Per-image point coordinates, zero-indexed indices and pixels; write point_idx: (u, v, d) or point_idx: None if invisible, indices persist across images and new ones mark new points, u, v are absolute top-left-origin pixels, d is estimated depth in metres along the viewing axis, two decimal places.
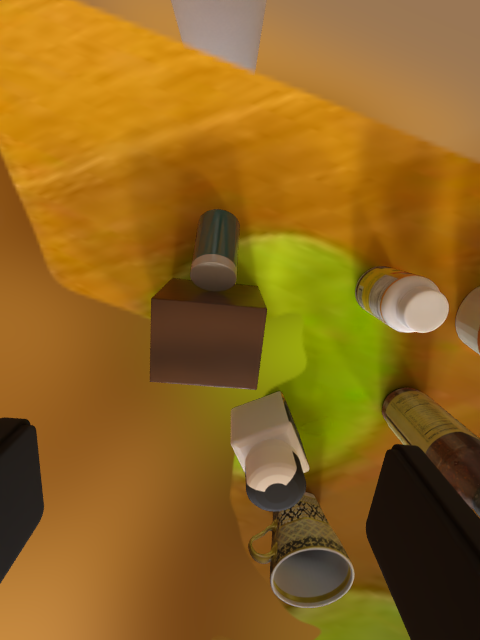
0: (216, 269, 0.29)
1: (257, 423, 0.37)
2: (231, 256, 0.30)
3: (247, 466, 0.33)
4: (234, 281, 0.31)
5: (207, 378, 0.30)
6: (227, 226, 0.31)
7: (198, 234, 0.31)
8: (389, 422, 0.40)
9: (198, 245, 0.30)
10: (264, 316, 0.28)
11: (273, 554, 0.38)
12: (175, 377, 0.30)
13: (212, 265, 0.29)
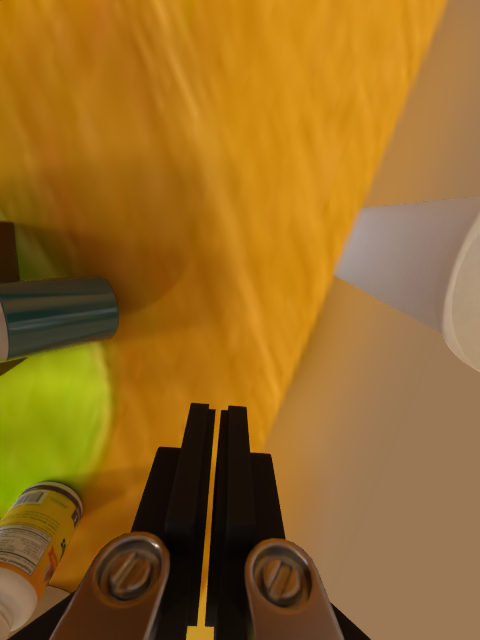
0: None
1: None
2: (19, 356, 0.17)
3: None
4: None
5: None
6: (85, 335, 0.19)
7: (65, 288, 0.19)
8: None
9: (34, 295, 0.17)
10: None
11: None
12: None
13: None
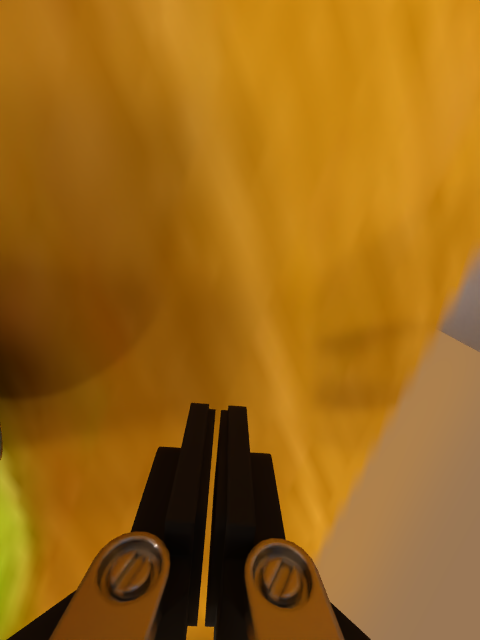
0: None
1: None
2: None
3: None
4: None
5: None
6: None
7: None
8: None
9: None
10: None
11: None
12: None
13: None
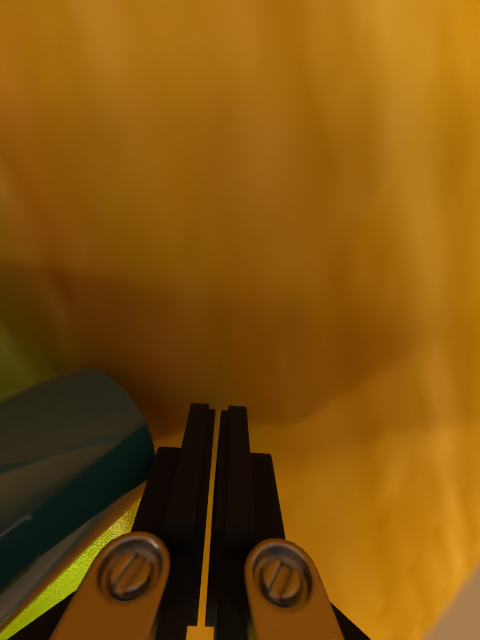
0: None
1: None
2: None
3: None
4: None
5: None
6: (86, 548, 0.07)
7: (23, 449, 0.06)
8: None
9: None
10: None
11: None
12: None
13: None
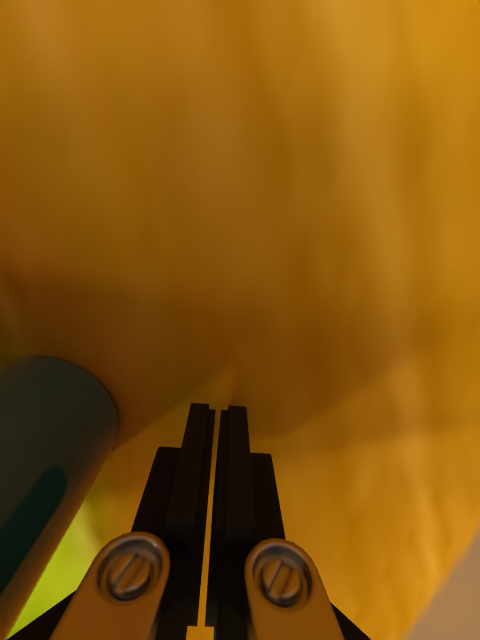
0: None
1: None
2: None
3: None
4: None
5: None
6: (83, 500, 0.09)
7: (27, 422, 0.07)
8: None
9: None
10: None
11: None
12: None
13: None
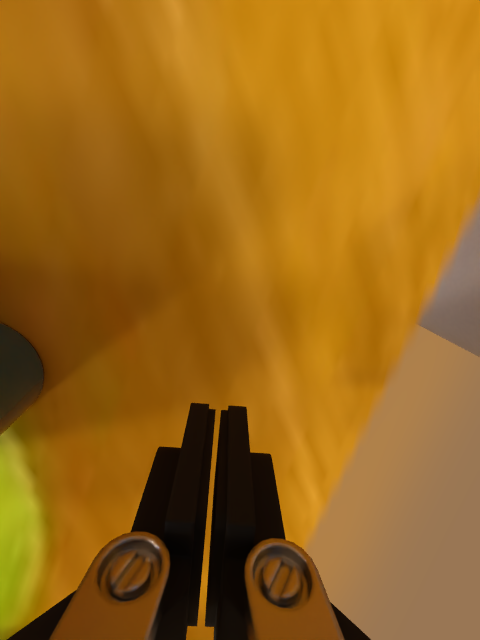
0: None
1: None
2: None
3: None
4: None
5: None
6: (9, 422, 0.11)
7: None
8: None
9: None
10: None
11: None
12: None
13: None
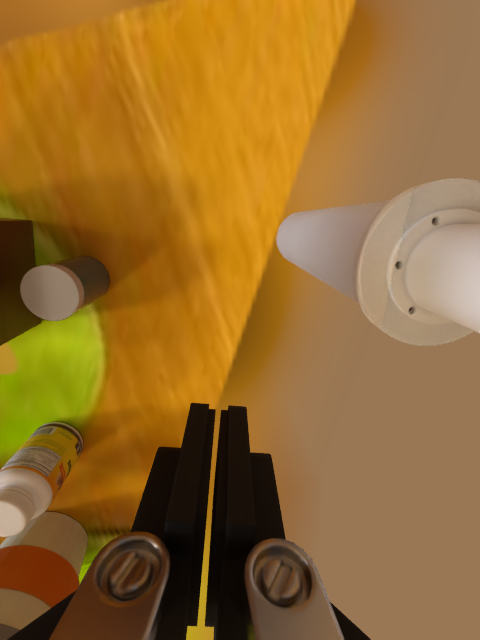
0: (67, 298, 0.25)
1: None
2: (79, 309, 0.27)
3: None
4: (48, 318, 0.25)
5: None
6: (100, 293, 0.30)
7: (86, 264, 0.28)
8: None
9: (81, 269, 0.27)
10: None
11: None
12: None
13: (72, 293, 0.25)
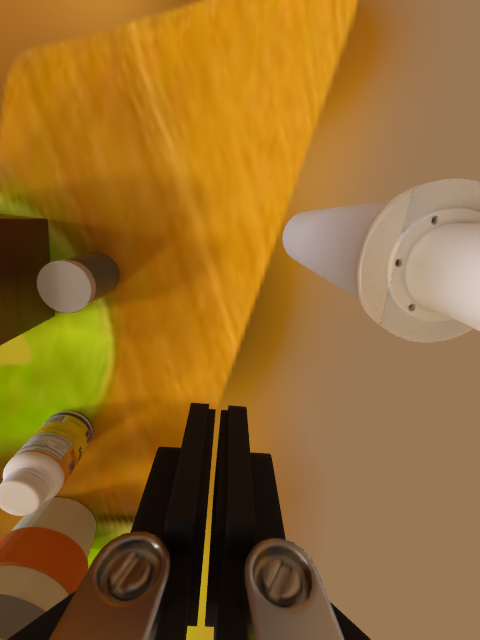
0: (80, 292, 0.26)
1: None
2: (91, 303, 0.28)
3: None
4: (62, 310, 0.27)
5: None
6: (110, 288, 0.31)
7: (98, 260, 0.30)
8: None
9: (93, 264, 0.28)
10: None
11: None
12: None
13: (85, 287, 0.26)
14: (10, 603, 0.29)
